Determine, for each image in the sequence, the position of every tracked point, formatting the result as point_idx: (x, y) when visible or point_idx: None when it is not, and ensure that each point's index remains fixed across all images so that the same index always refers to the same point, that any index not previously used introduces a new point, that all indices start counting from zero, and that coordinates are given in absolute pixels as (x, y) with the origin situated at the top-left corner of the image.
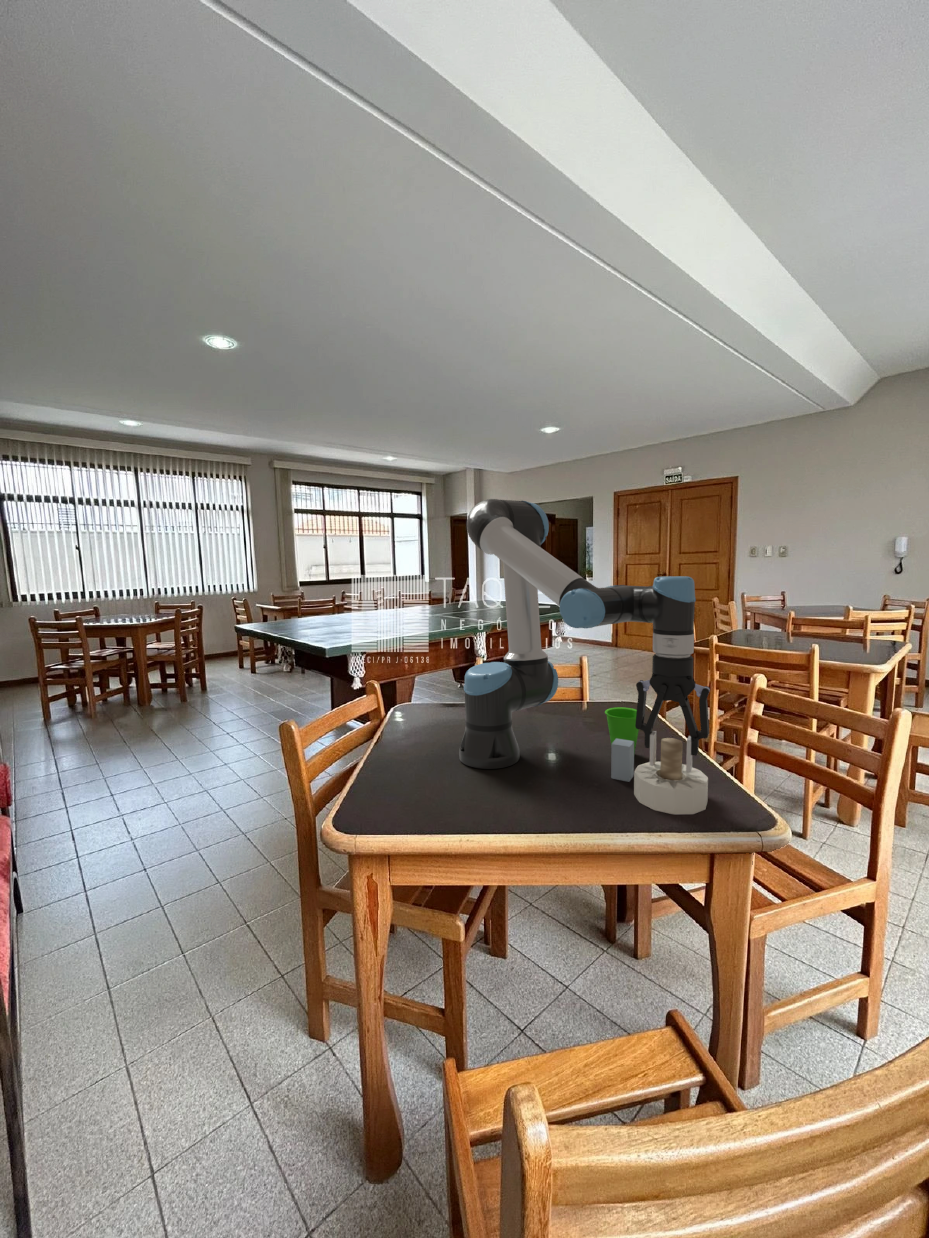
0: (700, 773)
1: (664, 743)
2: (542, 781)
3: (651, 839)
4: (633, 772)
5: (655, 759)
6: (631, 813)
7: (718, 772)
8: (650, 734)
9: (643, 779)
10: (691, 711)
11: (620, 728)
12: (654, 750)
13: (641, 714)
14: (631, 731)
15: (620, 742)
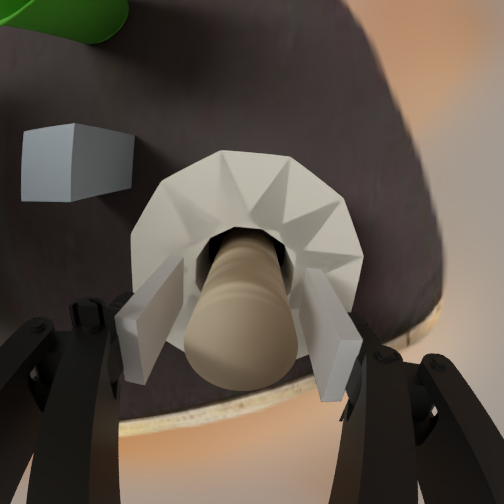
0: (343, 228)
1: (208, 379)
2: (3, 270)
3: (229, 417)
4: (130, 137)
5: (180, 269)
6: (176, 354)
7: (365, 34)
8: (126, 377)
9: (172, 340)
10: (409, 492)
11: (39, 24)
12: (168, 317)
13: (33, 438)
14: (77, 3)
15: (38, 169)
